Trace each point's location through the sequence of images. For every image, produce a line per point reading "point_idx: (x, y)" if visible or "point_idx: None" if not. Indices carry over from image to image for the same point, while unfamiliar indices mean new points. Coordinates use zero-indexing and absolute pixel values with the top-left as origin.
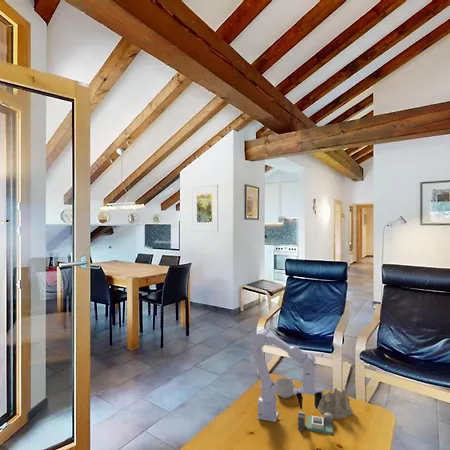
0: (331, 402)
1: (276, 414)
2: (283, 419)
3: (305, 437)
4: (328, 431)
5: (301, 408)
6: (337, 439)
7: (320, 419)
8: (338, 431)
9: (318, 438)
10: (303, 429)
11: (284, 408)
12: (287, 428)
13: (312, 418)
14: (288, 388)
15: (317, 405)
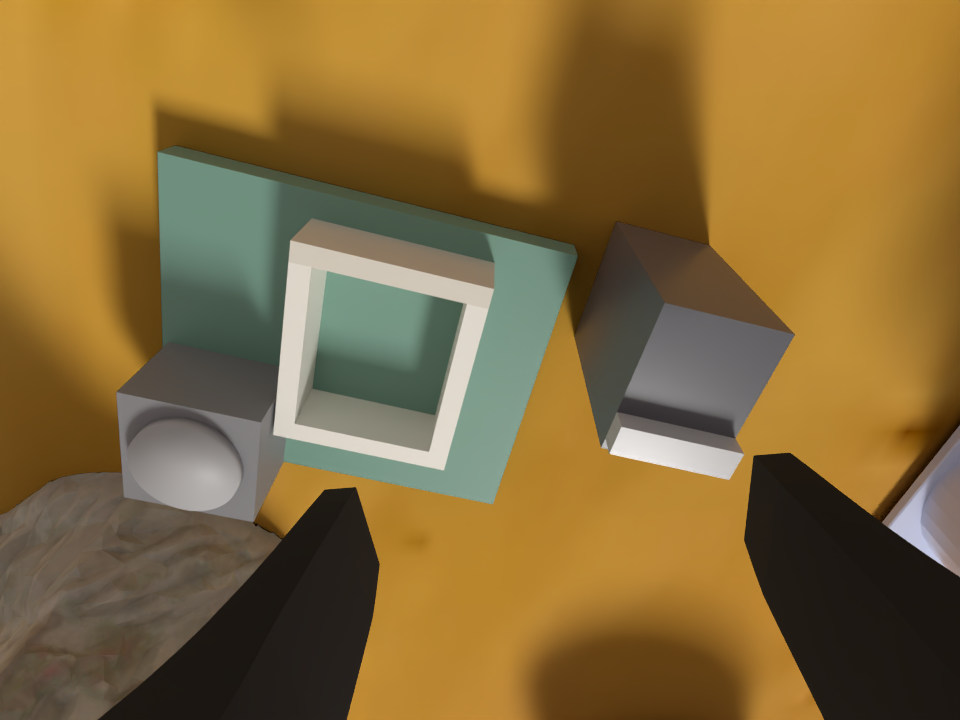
0: (85, 682)
1: (941, 508)
2: (841, 443)
3: (654, 38)
4: (231, 175)
5: (790, 467)
6: (100, 15)
7: (327, 413)
8: (91, 228)
9: (427, 23)
10: (634, 229)
11: (738, 616)
12: (873, 261)
13: (452, 410)
14: None
15: (290, 551)
